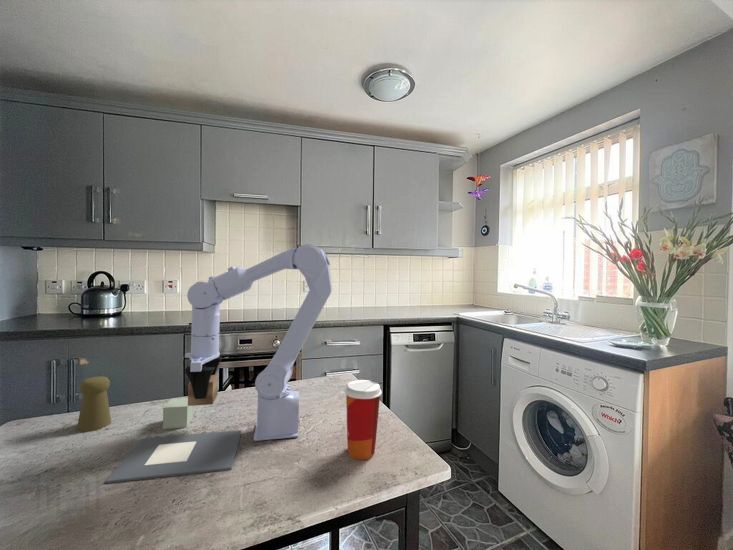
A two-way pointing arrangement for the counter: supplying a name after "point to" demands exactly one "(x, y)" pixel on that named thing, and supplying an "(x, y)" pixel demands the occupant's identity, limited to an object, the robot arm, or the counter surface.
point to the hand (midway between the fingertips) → (203, 393)
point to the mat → (178, 456)
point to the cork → (94, 404)
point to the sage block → (177, 414)
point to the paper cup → (362, 417)
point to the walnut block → (209, 397)
